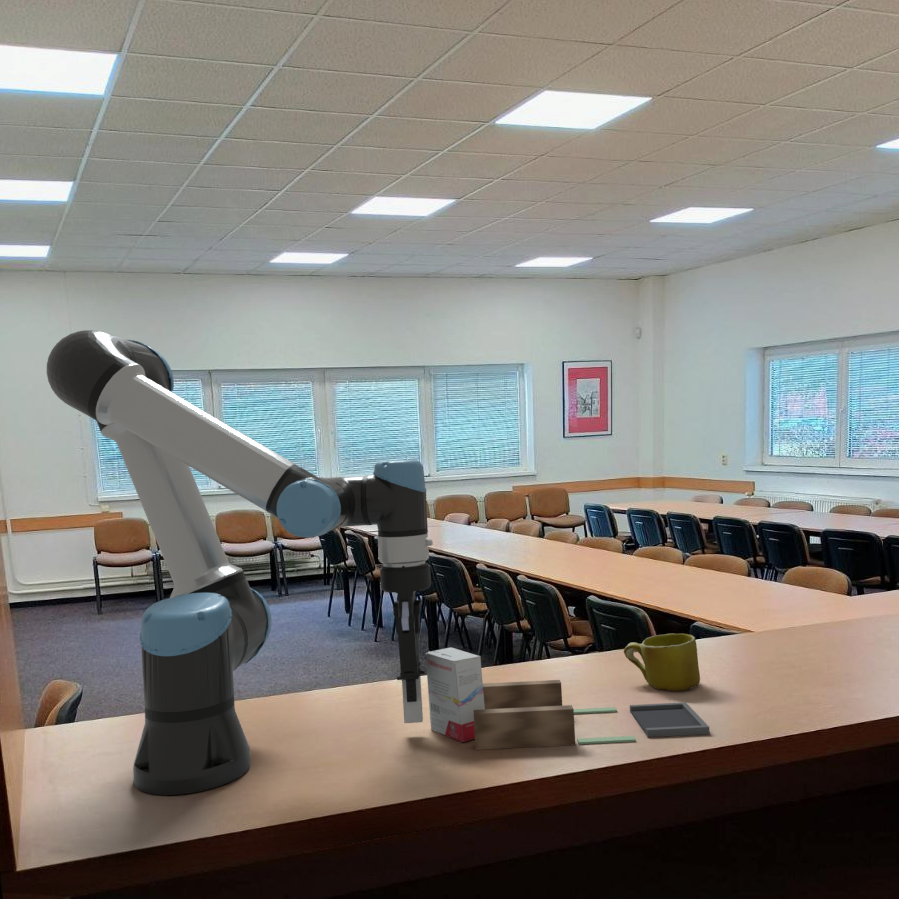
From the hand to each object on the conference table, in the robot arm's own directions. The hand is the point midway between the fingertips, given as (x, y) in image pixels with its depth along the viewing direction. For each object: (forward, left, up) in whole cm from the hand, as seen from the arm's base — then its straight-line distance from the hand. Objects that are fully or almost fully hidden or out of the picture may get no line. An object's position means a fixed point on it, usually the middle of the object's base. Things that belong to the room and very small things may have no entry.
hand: (413, 720), depth 120 cm
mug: (+42, +19, -2) cm, 46 cm away
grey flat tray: (+37, 0, -2) cm, 38 cm away
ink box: (+6, 0, -2) cm, 7 cm away
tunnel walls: (+16, 0, -2) cm, 16 cm away
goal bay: (+27, 0, -2) cm, 28 cm away
